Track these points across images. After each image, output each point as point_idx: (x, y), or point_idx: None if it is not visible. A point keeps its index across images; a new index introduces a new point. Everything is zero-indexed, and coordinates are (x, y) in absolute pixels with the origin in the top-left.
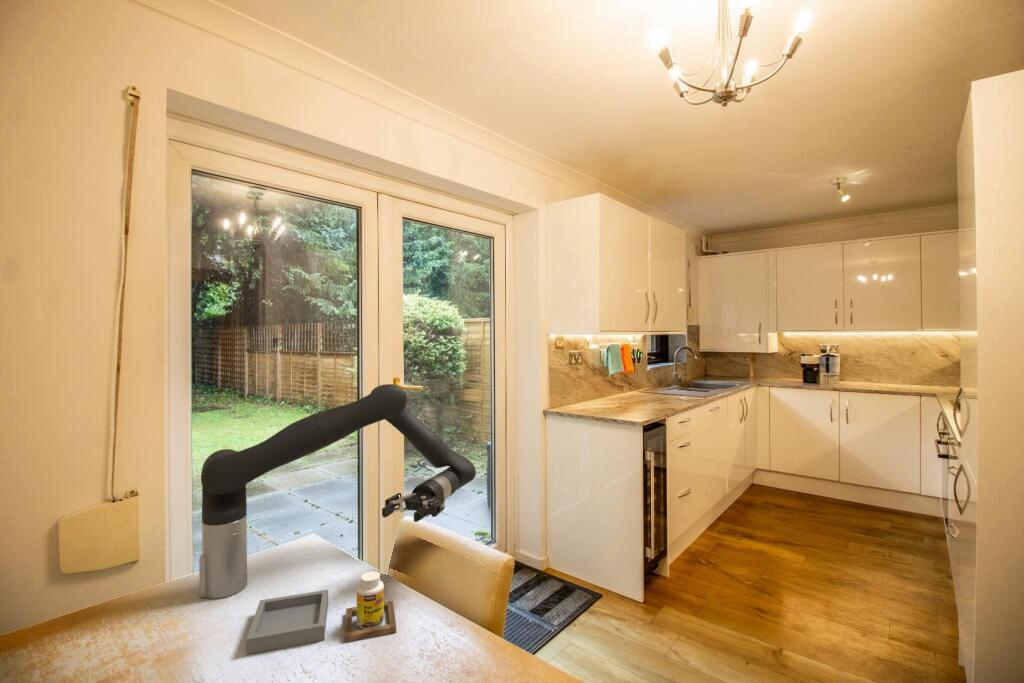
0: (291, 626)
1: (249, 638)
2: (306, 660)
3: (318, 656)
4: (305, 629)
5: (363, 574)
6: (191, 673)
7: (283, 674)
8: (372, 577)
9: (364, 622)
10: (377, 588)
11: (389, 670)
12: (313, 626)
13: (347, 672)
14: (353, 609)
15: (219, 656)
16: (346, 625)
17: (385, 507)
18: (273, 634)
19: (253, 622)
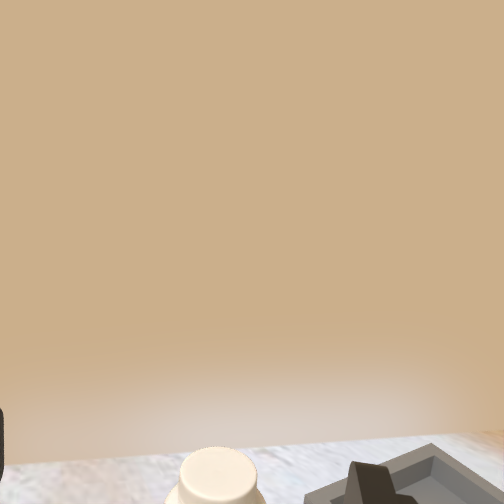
0: None
1: (429, 446)
2: (288, 473)
3: (271, 484)
4: (341, 481)
5: (252, 474)
6: (458, 434)
7: (302, 444)
8: (204, 462)
9: None
10: (176, 486)
11: (86, 467)
12: (329, 488)
13: (179, 456)
14: None
15: (469, 466)
16: None
17: (379, 483)
18: (394, 458)
19: (490, 485)
